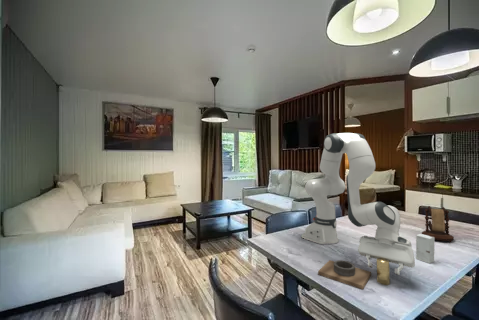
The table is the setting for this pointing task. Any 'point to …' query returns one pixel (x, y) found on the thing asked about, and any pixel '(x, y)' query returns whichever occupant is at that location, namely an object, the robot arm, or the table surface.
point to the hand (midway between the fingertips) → (383, 270)
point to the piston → (383, 271)
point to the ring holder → (345, 273)
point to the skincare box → (425, 248)
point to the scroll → (438, 224)
